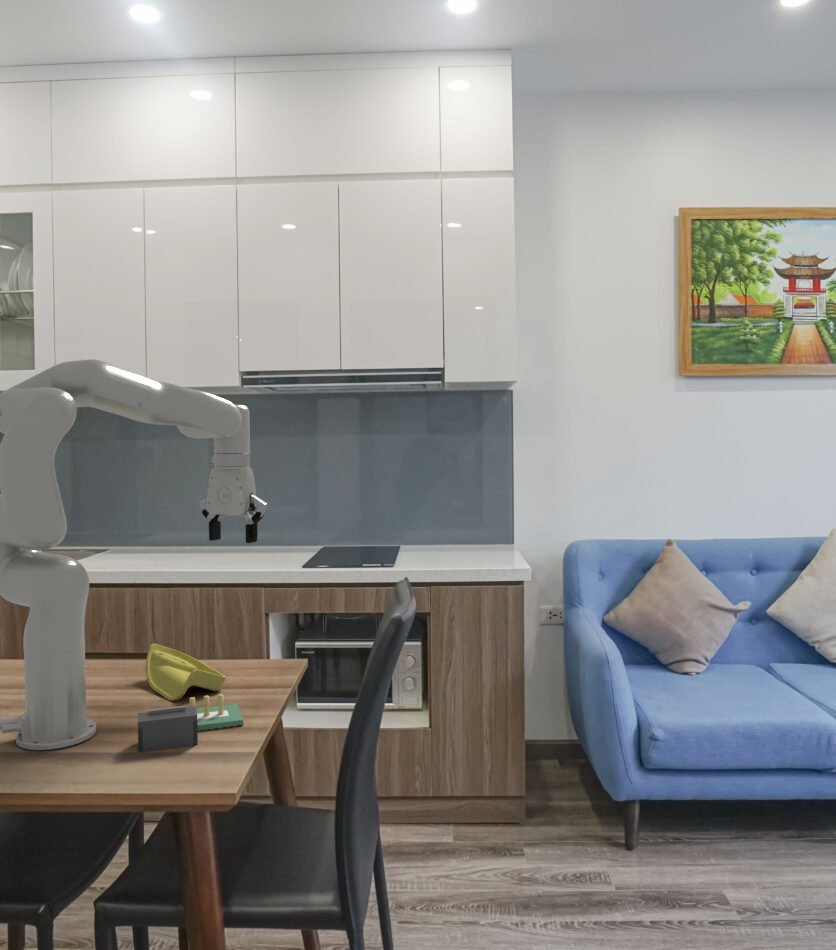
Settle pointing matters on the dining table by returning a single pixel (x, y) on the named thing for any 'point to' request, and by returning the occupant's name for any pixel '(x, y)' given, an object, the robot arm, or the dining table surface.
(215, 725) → the header
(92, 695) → the dining table surface
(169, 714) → the plug
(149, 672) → the plastic component
